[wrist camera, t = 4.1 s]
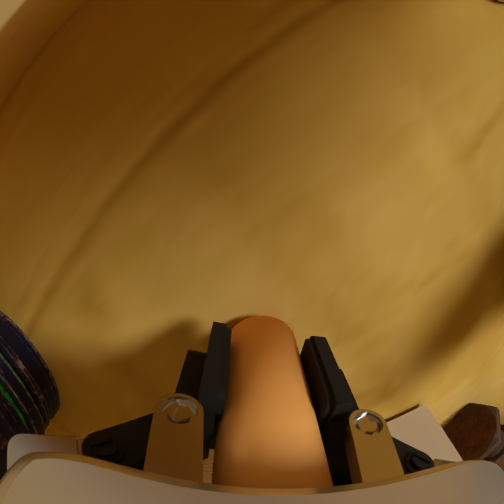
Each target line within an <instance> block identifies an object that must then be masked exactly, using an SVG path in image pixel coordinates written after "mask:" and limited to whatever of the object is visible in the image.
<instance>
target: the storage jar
mask: <svg viewBox="0 0 504 504" xmlns="http://www.w3.org/2000/svg"><path fill="white" fill-rule="evenodd" d="M59 405H60V398H59V393H58V389H57V387H56V384H55V381H54V379H53V377H52V375H51V373H50V371H49V369H48V367H47V365H46V363H45V362H44V360H43V359H42V357H41V356H40V354H39V352H38V351H37V350H36V348H35V347H34V346H33V344H32V343H31V342H30V340H29V339H28V338H27V337H26V335H25V334H24V333H23V332H22V331H21V330H20V329H19V327H18V326H17V325H16V324H15V323H14V322H13V321H12V320H11V319H9V318H8V317H7V316H6V315H5V314H3V313H2V312H1V311H0V480H1V479H2V477H3V476H4V474H5V473H6V472H7V450H8V443H9V441H10V439H11V438H12V437H13V436H15V435H17V434H36V435H44V432H45V429H46V428H47V426H48V424H49V420H50V419H52V418H53V417H54V415H55V414H56V412H57V411H58V409H59Z"/></svg>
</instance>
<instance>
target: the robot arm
mask: <svg viewBox="0 0 504 504" xmlns="http://www.w3.org/2000/svg"><path fill="white" fill-rule="evenodd" d="M498 1H501V2H504V0H498ZM231 334H232V328H227V324H224V323H218V322H213V326H212V331H211V335H210V340H209V345H208V350H207V353H203V352H198V351H192V350H188V352H187V355H186V358H185V362H184V365H183V368H182V372H181V375H180V378H179V382H178V385H177V388H176V392H175V393H173V394H167V395H165V396H163V397H161V398H160V399H159V400H158V401H157V403H156V405H155V409H154V413H152V414H149V415H146V416H144V417H141V418H138V419H135V420H132V421H129V422H126V423H123V424H120V425H116V426H113V427H110V428H107V429H103V430H100V431H97V432H94V433H92V434H89V435H88V436H87V437H86V438H85V439H76V437H75V436H53V435H36V434H17V435H15V436H13V437H12V438H11V439H10V441H9V443H8V450H7V472H6V473H5V474H4V476H3V477H2V479H1V480H0V504H504V472H503V471H502V469H501V468H500V467H499V466H498V465H496V464H495V463H493V462H489V461H484V460H467V461H459V462H454V461H447V460H441V459H434V460H432V458H431V457H430V456H429V455H427V454H426V453H424V452H422V451H420V450H418V449H416V448H414V447H412V446H410V445H408V444H406V443H404V442H402V441H400V440H398V439H396V438H394V437H392V436H391V434H390V431H389V428H388V426H387V423H386V421H385V419H384V418H383V417H382V416H381V415H380V414H378V413H376V412H374V411H372V410H367V409H359V408H358V406H357V403H356V401H355V399H354V396H353V394H352V392H351V389H350V387H349V385H348V383H347V380H346V378H345V376H344V373H343V371H342V370H341V369H339V367H338V365H337V363H336V360H335V358H334V356H333V353H332V351H331V349H330V347H329V344H328V342H327V340H326V338H325V337H318V336H311V337H310V339H306V340H305V342H304V345H303V348H302V351H301V354H300V358H301V362H302V365H303V369H304V373H305V377H306V380H307V384H308V388H309V392H310V395H311V399H312V403H313V407H314V411H315V415H316V418H317V422H318V426H319V430H320V434H321V438H322V442H323V446H324V450H325V454H326V458H327V462H328V466H329V470H330V474H331V478H332V482H333V486H331V487H318V488H292V489H275V488H249V487H236V486H225V485H216V484H209V483H203V460H205V459H207V458H208V457H209V451H210V449H213V450H215V441H216V431H217V425H218V423H219V421H220V420H221V418H222V413H223V408H224V403H225V398H226V390H227V379H228V367H229V356H230V345H231Z"/></svg>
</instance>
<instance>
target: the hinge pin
mask: <svg viewBox="0 0 504 504" xmlns="http://www.w3.org/2000/svg"><path fill="white" fill-rule="evenodd" d="M211 484H216V485H225V486H236V487H249V488H275V489H292V488H318V487H331V486H333V482H332V478H331V474H330V470H329V466H328V462H327V458H326V454H325V450H324V446H323V442H322V438H321V434H320V430H319V426H318V422H317V418H316V415H315V411H314V407H313V403H312V399H311V395H310V392H309V388H308V384H307V380H306V377H305V373H304V369H303V365H302V362H301V358H300V354H299V351H298V347H297V343H296V340H295V336H294V333H293V332H292V330H291V328H290V327H289V326H288V325H287V324H286V323H284V322H283V321H281V320H279V319H277V318H274V317H270V316H254V317H250V318H247V319H245V320H242V321H241V322H239V323H238V324H236V325H235V326H234V327H233V328H232V334H231V345H230V356H229V367H228V379H227V390H226V398H225V403H224V408H223V413H222V418H221V420H220V421H219V423H218V425H217V431H216V441H215V451H214V462H213V472H212V483H211Z"/></svg>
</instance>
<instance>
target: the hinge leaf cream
mask: <svg viewBox="0 0 504 504" xmlns="http://www.w3.org/2000/svg"><path fill="white" fill-rule="evenodd" d="M386 423H387V426H388V428H389V431H390V434H391V436H392V437H394V438H396V439H398V440H400V441H402V442H404V443H406V444H408V445H410V446H412V447H414V448H416V449H418V450H420V451H422V452H424V453H426V454H427V455H429V456H430V457H431V458H432V460H434V459H441V460H447V461H454V462H459V461H463V460H462V458H461V457H460V455H459V453H458V452H457V450H456V449H455V447H454V446H453V444H452V443H451V441H450V439H449V438H448V436H447V435H446V433H445V432H444V430H443V429H442V427H441V426H440V424H439V423H438V421H437V420H436V418H435V417H434V415H433V414H432V413H431V411H430V410H429V408H428V407H427V405H426V404H424V405H422V406H420V407H418V408H416V409H414V410H412V411H410V412H408V413H406V414H404V415H402V416H400V417H398V418H396V419H393V420H391V421H389V422H386Z"/></svg>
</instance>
